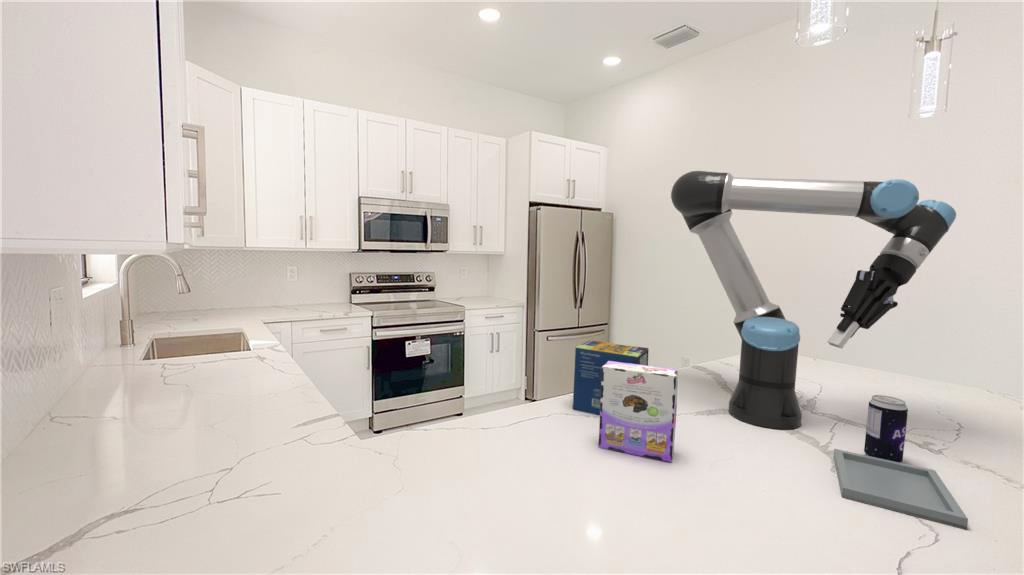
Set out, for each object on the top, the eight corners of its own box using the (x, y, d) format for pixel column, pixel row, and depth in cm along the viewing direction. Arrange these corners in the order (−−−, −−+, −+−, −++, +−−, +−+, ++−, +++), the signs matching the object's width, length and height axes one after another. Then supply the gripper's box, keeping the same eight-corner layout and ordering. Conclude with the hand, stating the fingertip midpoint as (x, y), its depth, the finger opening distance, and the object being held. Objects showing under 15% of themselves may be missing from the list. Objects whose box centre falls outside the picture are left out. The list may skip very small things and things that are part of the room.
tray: (842, 497, 71) (842, 487, 71) (833, 456, 85) (834, 448, 85) (966, 529, 63) (968, 519, 63) (933, 478, 78) (934, 470, 78)
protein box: (586, 398, 116) (589, 339, 115) (646, 410, 108) (649, 347, 107) (571, 409, 107) (574, 346, 106) (634, 423, 99) (638, 356, 98)
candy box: (674, 451, 86) (679, 368, 84) (671, 464, 80) (677, 375, 79) (604, 436, 91) (607, 358, 90) (597, 447, 86) (601, 365, 85)
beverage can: (893, 469, 81) (900, 406, 80) (857, 456, 86) (863, 396, 85) (907, 463, 83) (914, 401, 82) (872, 451, 88) (878, 392, 87)
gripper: (901, 245, 94) (834, 333, 93) (930, 282, 98) (866, 366, 97) (865, 243, 101) (803, 324, 101) (894, 277, 105) (834, 355, 104)
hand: (834, 344), depth 99 cm, fingers closed
